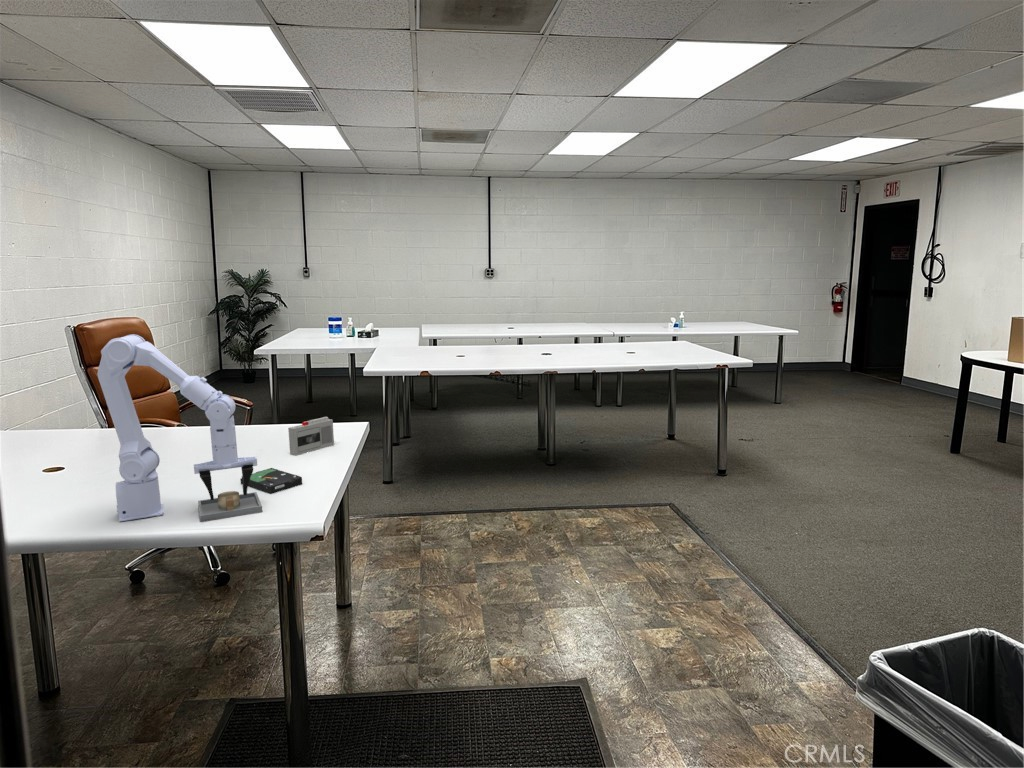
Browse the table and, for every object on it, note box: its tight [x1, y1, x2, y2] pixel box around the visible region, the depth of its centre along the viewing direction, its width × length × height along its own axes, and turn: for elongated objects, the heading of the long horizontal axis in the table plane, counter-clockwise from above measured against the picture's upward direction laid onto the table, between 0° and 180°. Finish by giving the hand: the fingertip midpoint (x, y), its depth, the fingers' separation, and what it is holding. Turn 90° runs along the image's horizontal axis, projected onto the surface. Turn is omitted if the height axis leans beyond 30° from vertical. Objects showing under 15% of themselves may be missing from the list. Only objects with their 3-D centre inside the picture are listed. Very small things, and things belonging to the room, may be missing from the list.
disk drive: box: [239, 467, 303, 495], centre depth 188 cm, size 10×3×15 cm
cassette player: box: [288, 416, 335, 457], centre depth 222 cm, size 16×3×10 cm, turn 144°
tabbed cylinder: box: [217, 490, 240, 511], centre depth 169 cm, size 8×5×3 cm, turn 27°
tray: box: [197, 491, 263, 523], centre depth 169 cm, size 14×12×2 cm
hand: (228, 496), depth 170 cm, fingers open, 7 cm apart
